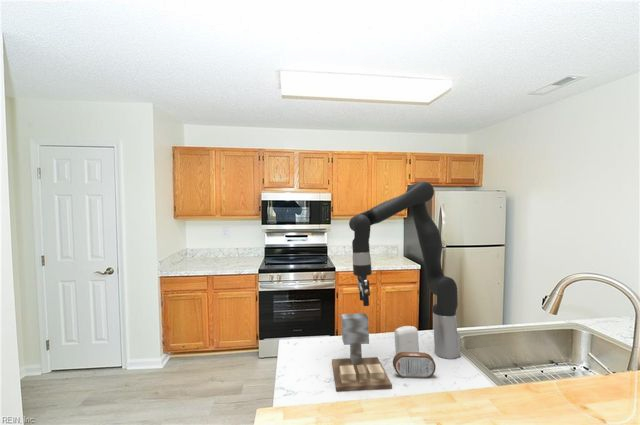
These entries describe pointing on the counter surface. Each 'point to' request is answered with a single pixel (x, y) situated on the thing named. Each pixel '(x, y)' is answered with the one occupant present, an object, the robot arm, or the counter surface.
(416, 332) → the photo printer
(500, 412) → the counter surface
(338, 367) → the display stand
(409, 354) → the tin
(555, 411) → the counter surface
